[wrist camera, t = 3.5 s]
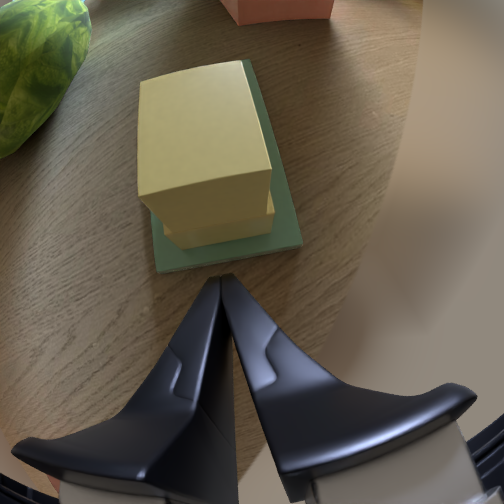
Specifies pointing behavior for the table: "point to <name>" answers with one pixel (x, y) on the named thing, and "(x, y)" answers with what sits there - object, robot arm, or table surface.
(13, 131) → the lettuce
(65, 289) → the table surface
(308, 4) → the house
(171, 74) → the butter slab
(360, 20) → the table surface
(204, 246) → the butter dish
